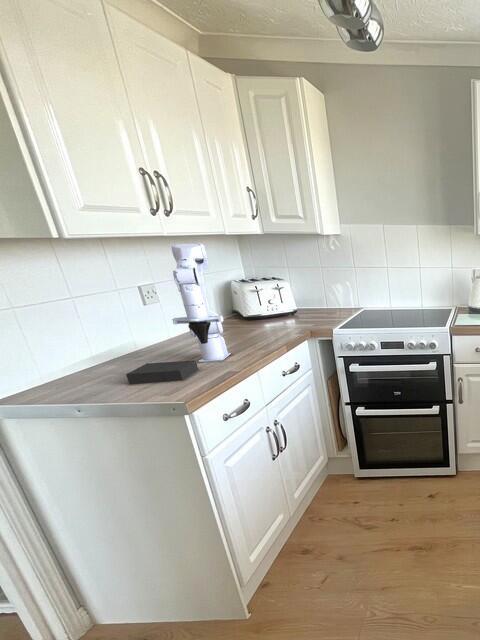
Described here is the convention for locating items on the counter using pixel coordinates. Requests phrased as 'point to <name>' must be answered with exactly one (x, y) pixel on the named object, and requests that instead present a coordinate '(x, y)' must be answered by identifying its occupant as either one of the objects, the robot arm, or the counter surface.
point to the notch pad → (148, 373)
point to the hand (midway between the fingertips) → (204, 343)
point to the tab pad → (179, 370)
